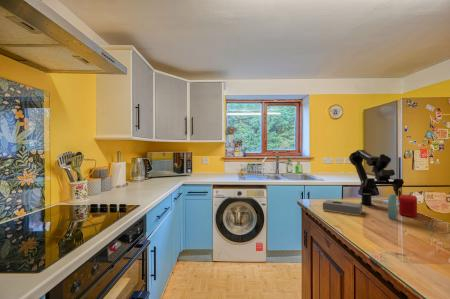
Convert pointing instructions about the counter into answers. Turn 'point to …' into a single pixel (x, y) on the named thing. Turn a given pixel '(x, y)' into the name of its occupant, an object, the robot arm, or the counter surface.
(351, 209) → the socket block
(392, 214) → the peg
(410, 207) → the decorative item
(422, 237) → the counter surface
